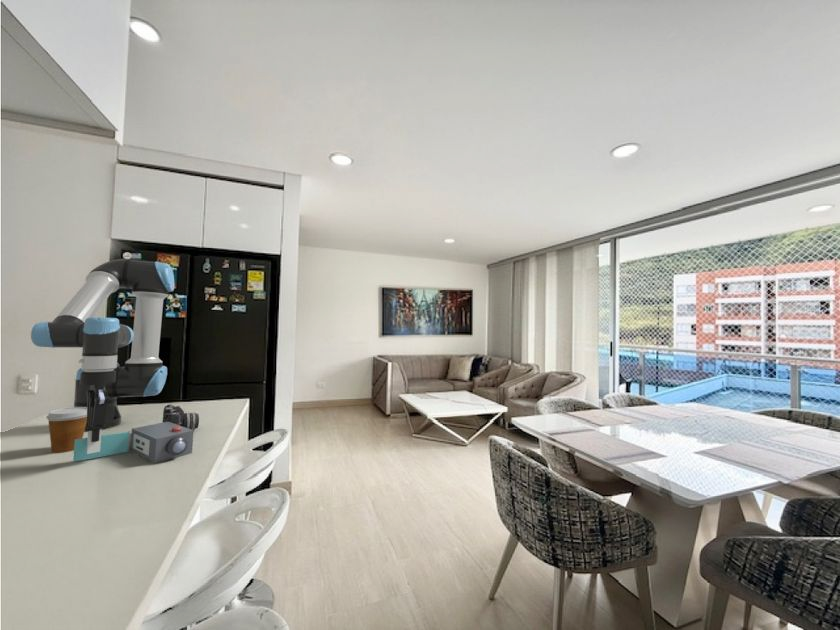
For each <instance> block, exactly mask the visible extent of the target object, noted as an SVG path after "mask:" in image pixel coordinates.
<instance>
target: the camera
mask: <svg viewBox="0 0 840 630" xmlns="http://www.w3.org/2000/svg"><path fill="white" fill-rule="evenodd" d="M163 422H171V423H174V424H177V425H180V426H182V427H185V428H188V429H191V430H193V431H194V430H196V429H198V428H199V424H200V416H199V413H197V412H194V411H193V412H185V411H184V410H183V409H182V407H181V406H179V405H176V406H175V405H173V404H171V403H170V404H167V405H165V406H164V408H163V412H162V421H161V423H163Z"/></svg>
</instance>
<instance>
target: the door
mask: <svg viewBox="0 0 840 630" xmlns="http://www.w3.org/2000/svg"><path fill="white" fill-rule="evenodd" d="M131 441H132V430H128V431H123V432H116V433H110V434H109V433H108V434H103V435H102V434H101V446H100V452H95V453H90V454H87V453H86V452H87V437H83V438H82V439H75V444H74V450H73V457H72V459H73V461H72V462H79V461H83V460H84V461H85V460H89V459H96V458H100V457H106V456H111V455H117V454H122V453H123V454H124V453H127V452H128V453H129V452H131Z"/></svg>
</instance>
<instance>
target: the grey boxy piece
mask: <svg viewBox="0 0 840 630" xmlns="http://www.w3.org/2000/svg"><path fill="white" fill-rule="evenodd" d="M162 422H163V421H162ZM162 422H159V423H153V424H149V425H145V426H139V427H134V428H133V427H132V428H131V431H132V441H131V451H130V452H131V453H133V454H134V455H138V456H139V457H142V458H143V459H145V460H147V461H149V462H151V463H153V464H158V463H161V462H165V461H168V460H171V459H176V458H178V457H182V456H185V455H190V454H193V446H194V445H193V443H194V430H191V429H188V428H185V427H182V426H180V425H177V424H174V423H171V422H163V423H162Z"/></svg>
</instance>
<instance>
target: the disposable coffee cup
mask: <svg viewBox="0 0 840 630" xmlns="http://www.w3.org/2000/svg"><path fill="white" fill-rule="evenodd" d="M46 419H47V421H48V430H49V437H50V438H49V439H50V446H51V448H50V449H51V452H52V453H65V452H66V453H67V452H72V451H74V444H75V439H82V438H84V433H85V431H84V430H85V426H86V422H87V407H74V406H71V407H65V408H63V407H62V408H58V409H53V410H50V411H49V412H48V415H47V416H46Z"/></svg>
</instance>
